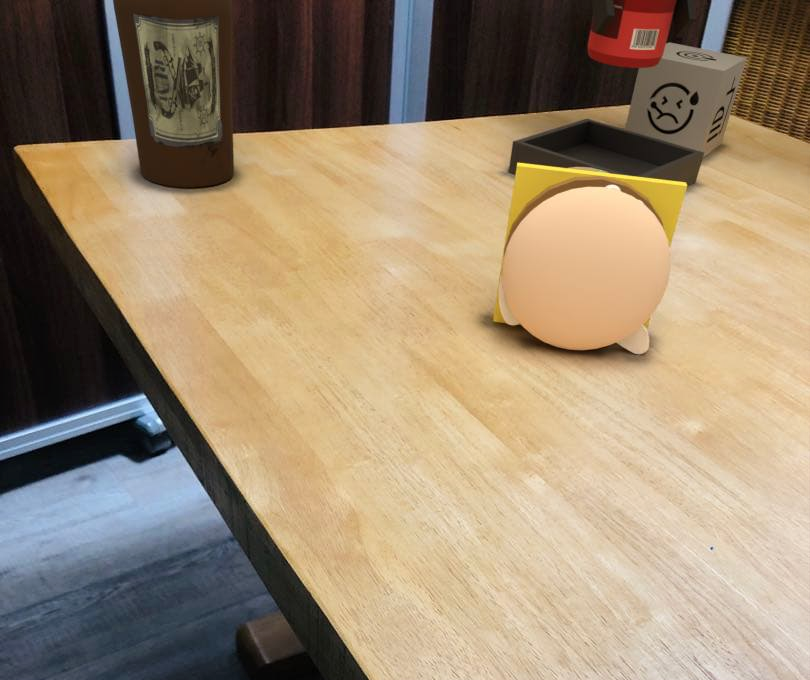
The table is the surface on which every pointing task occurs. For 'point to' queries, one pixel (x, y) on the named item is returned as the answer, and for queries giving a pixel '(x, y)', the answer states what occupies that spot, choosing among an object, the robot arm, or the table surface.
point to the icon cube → (686, 97)
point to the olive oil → (180, 88)
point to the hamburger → (586, 255)
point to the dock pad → (607, 152)
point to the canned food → (633, 34)
